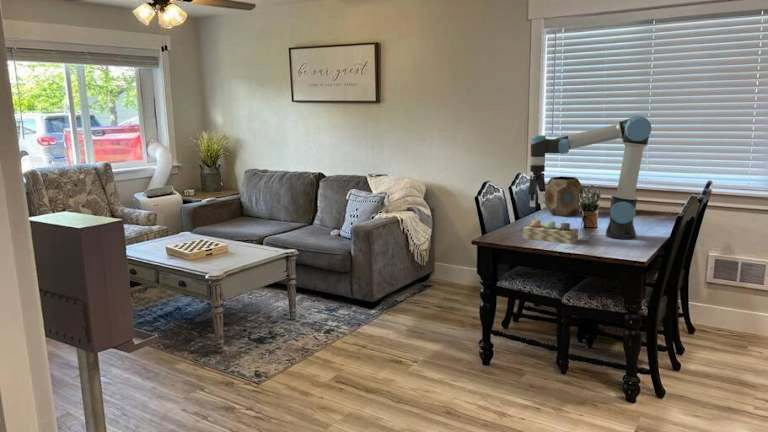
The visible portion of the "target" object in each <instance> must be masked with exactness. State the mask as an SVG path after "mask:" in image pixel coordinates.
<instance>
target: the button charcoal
mask: <svg viewBox="0 0 768 432" xmlns="http://www.w3.org/2000/svg"><path fill="white" fill-rule="evenodd" d="M560 227H561V230H562V231H570V228H571V223H570V222H561V223H560Z"/></svg>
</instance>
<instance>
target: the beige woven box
mask: <svg viewBox="0 0 768 432" xmlns="http://www.w3.org/2000/svg"><path fill="white" fill-rule="evenodd" d="M522 239H525V240H534V241H543V242H549V243H559V244H567V245H571V244H573V243H574V242H577V241H578V239H579V228H578V227H577V228H574V227H570V231H562V230H561V226H557V225H555V229H554V230H553V229H546V224H541V227H540V228H534V227H532V223H530V224H528V225H526V226H524V227H522Z"/></svg>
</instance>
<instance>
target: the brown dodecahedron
mask: <svg viewBox="0 0 768 432" xmlns="http://www.w3.org/2000/svg"><path fill="white" fill-rule="evenodd" d="M545 190H546V191H545V192H544V195H545V197H544V203H543V204H544V205H545V207H546V209H547V210H548V211H549V213H550V214H551V216H556V215H557V216H559V217H573V216H577V215H578V213H579V212H581V209H580V206H579V202H580V200H579V194H580V193H581V194H582V195H583V196H584V187H583V185H582V183H581V182H580V180H579V179H578V178H577V177H575V176H554V177H550V178H549V180H548V181H547V183H546V184H545ZM572 215H573V216H572Z"/></svg>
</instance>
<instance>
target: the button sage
mask: <svg viewBox="0 0 768 432" xmlns="http://www.w3.org/2000/svg"><path fill="white" fill-rule="evenodd" d="M545 225H546V229H553V230H554V229H555V226H556V222H555V221H553V220H552V221H551V220H550V221H545Z"/></svg>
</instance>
